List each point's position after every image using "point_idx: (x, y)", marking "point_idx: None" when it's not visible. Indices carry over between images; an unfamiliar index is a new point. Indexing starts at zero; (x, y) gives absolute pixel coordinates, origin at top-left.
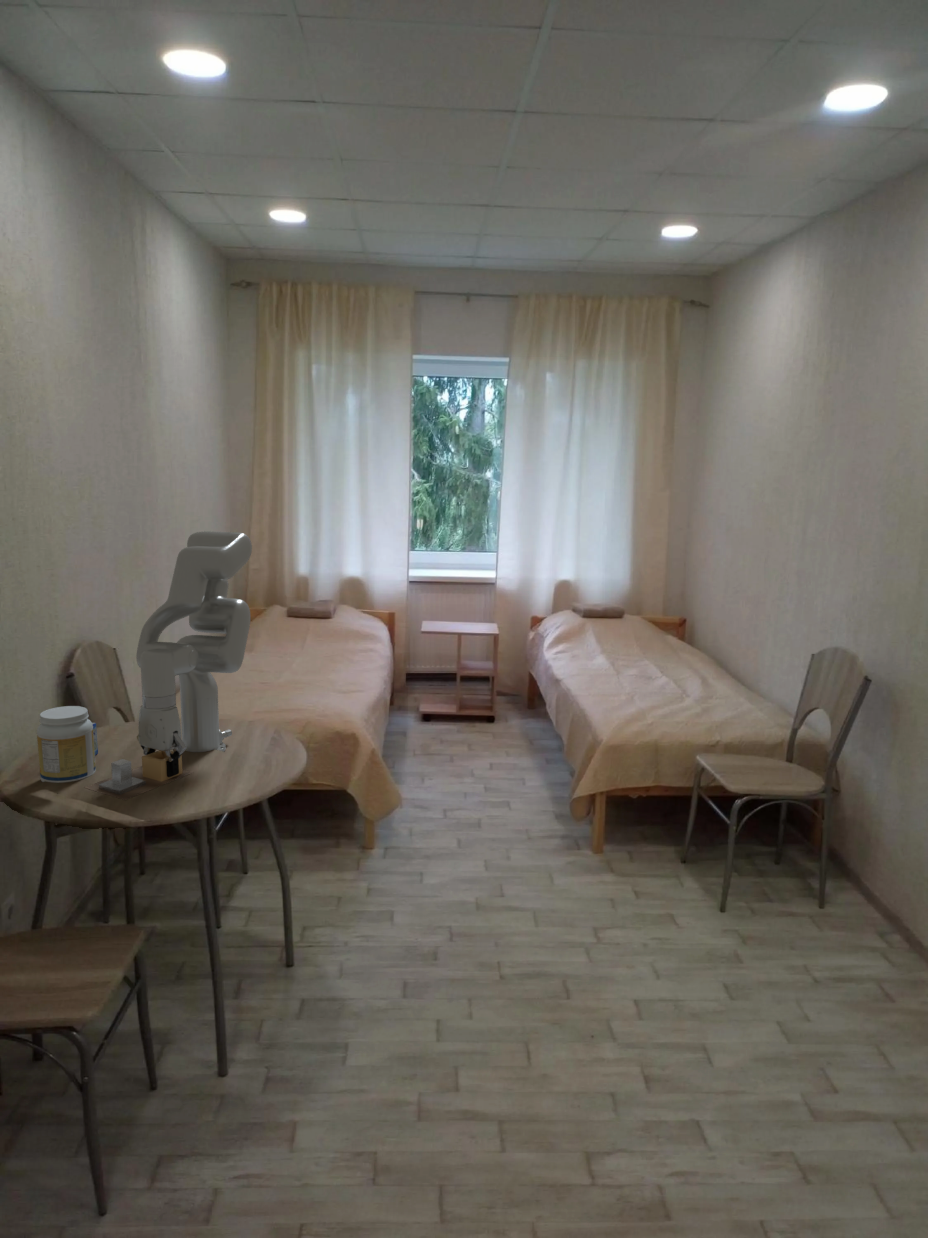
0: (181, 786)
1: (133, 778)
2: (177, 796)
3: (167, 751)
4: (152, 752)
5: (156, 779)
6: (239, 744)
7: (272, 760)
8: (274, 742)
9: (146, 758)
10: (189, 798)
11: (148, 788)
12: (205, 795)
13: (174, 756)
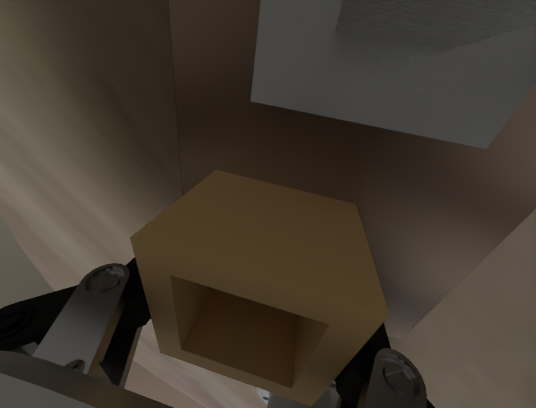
0: (177, 195)
1: (363, 102)
2: (102, 97)
3: (54, 355)
4: (342, 378)
5: (250, 180)
6: (262, 404)
7: (148, 348)
8: (213, 401)
9: (317, 289)
10: (53, 98)
11: (196, 44)
12: (49, 148)
13: (54, 301)
